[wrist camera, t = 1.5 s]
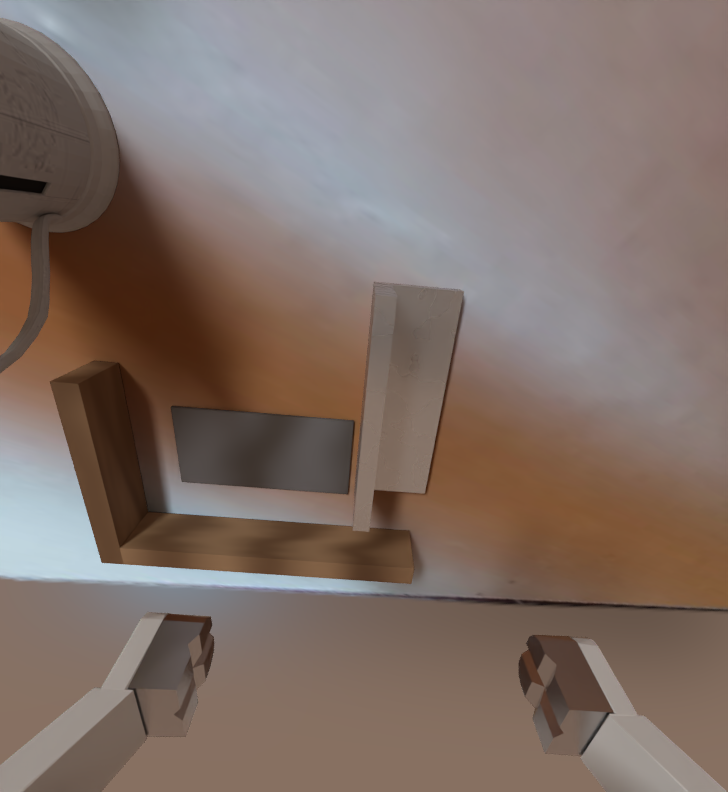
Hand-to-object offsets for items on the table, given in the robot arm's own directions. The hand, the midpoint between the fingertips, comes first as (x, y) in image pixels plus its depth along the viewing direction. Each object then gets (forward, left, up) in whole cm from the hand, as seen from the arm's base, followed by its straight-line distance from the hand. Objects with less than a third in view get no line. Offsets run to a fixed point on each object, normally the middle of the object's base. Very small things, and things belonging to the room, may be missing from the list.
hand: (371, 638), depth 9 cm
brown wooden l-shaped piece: (+6, +6, -16) cm, 18 cm away
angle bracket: (-2, 0, -16) cm, 16 cm away
